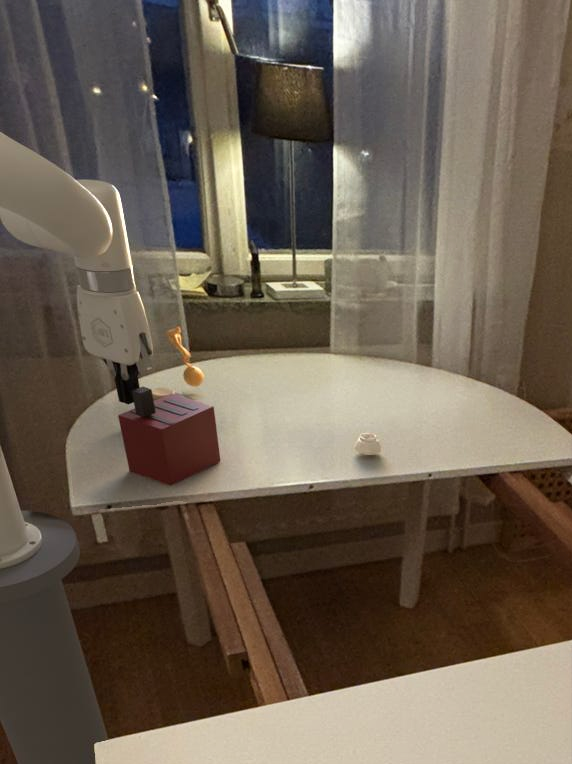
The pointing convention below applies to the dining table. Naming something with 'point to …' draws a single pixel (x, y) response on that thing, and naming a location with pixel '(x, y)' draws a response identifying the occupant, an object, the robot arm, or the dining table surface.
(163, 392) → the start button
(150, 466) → the toaster
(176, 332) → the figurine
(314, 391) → the dining table surface
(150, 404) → the slider
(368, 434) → the white jar
